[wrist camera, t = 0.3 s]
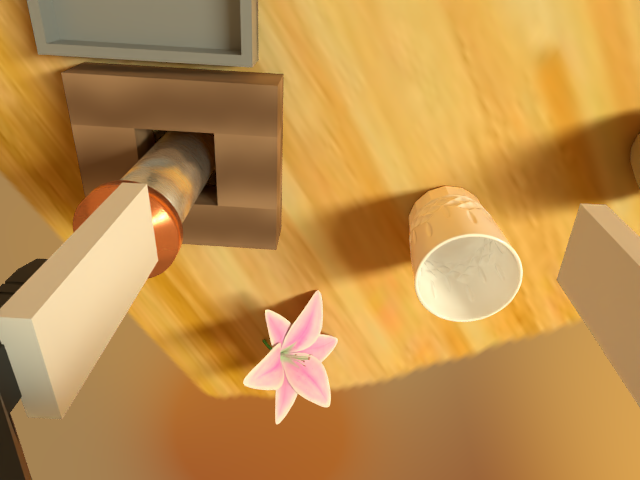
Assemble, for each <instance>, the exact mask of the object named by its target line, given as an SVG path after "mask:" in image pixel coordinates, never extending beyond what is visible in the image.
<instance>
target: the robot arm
mask: <svg viewBox="0 0 640 480" xmlns="http://www.w3.org/2000/svg"><path fill="white" fill-rule="evenodd" d="M157 262H158V256H157V249H156V242H155V235H154V228H153V221H152V214H151V207H150V200H149V194H148V187H147V184H141V183H121V184H120V185H119V187H118V188H117V189H116V190H115V191H114V192H113V193H112V194H111V195H110V196H109V197H108V198H107V199H106V200H105V201H104V202H103V203H102V204H101V205H100V206H99V207H98V208H97V209H96V210H95V211H94V212H93V213H92V214H91V215H90V216H89V217H88V218H87V220H86V221H85V222H84V223H83V224H82V225H81V226H80V227H79V228H78V229H77V230H76V231H75V232H74V233H73V234H72V235H71V236H70V237H69V238H68V239H67V240H66V241H65V242H64V243H63V244H62V245H61V246H60V247H59V248H58V249H57V251H55V253H54V254H53V255H52V256H51V257H50V258H49V259H36V260H34V261H32V262H30V263H28V264H26V265H25V266H23V267H21V268H19V269H18V270H17V271H16V272H15V273H13V274H12V276H10V277H9V278H8V279H7V280H6V281H5V284H2V285H1V286H0V480H32V478H31V475H30V473H29V469H28V466H27V463H26V460H25V457H24V454H23V450H22V447H21V444H20V441H19V438H18V435H17V432H16V429H15V426H14V423H13V420H12V418H11V415H10V412H11V411H12V409H13V408H14V407H15V405H16V404H17V403H18V401H19V400H20V398H21V400H22V403H23V406H24V409H25V411H26V414H27V417H32V418H49V419H63V417H64V415H65V414H66V412H67V410H68V409H69V407H70V405H71V404H72V402H73V400H74V399H75V397H76V395H77V394H78V392H79V391H80V389H81V387H82V385H83V384H84V382H85V381H86V379H87V377H88V376H89V374H90V372H91V371H92V369H93V367H94V366H95V364H96V362H97V361H98V359H99V357H100V356H101V354H102V352H103V351H104V349H105V347H106V346H107V344H108V343H109V341H110V339H111V338H112V336H113V334H114V333H115V331H116V329H117V328H118V326H119V324H120V323H121V321H122V319H123V318H124V316H125V315H126V313H127V311H128V310H129V308H130V306H131V305H132V303H133V301H134V300H135V298H136V296H137V295H138V293H139V291H140V290H141V288H142V287H143V285H144V283H145V282H146V280H147V278H148V277H149V275H150V273H151V272H152V270H153V268H154V267H155V265H156V263H157ZM557 281H558V283H559V284H560V286H561V287H562V289H563V291H564V292H565V294H566V295H567V297H568V298H569V300H570V301H571V303H572V304H573V306H574V307H575V309H576V310H577V312H578V314H579V315H580V317H581V318H582V320H583V321H584V323H585V324H586V326H587V327H588V329H589V330H590V332H591V333H592V335H593V336H594V338H595V340H596V341H597V342H598V344H599V346H600V347H601V349H602V350H603V352H604V353H605V355H606V356H607V358H608V359H609V361H610V363H611V364H612V366H613V367H614V369H615V370H616V372H617V373H618V375H619V376H620V378H621V379H622V381H623V382H624V384H625V385H626V387H627V388H628V390H629V391H630V393H631V394H632V396H633V398H634V399H635V401H636V402H637V404H638V405H639V407H640V237H639V236H638V235H637V234H636V233H635V232H634V231H633V230H632V229H631V228H630V227H629V226H628V225H627V224H626V223H625V222H624V221H623V220H622V219H620V218H619V217H618V216H617V215H616V214H615V213H614V212H613V211H612V210H611V209H610V208H609V207H608V206H607V205H600V204H580V206H579V210H578V213H577V216H576V219H575V222H574V226H573V229H572V232H571V235H570V239H569V242H568V245H567V248H566V252H565V255H564V258H563V261H562V264H561V268H560V271H559V274H558V277H557Z"/></svg>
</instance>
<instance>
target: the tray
mask: <svg viewBox="0 0 640 480" xmlns="http://www.w3.org/2000/svg"><path fill="white" fill-rule="evenodd" d="M27 4H28V9H29V13H30V18H31V23H32V28H33V32H34V37H35V42H36V46H37V51H38V54H41V55H57V56H74V57H90V58H107V59H123V60H140V61H156V62H173V63H189V64H206V65H223V66H239V67H253V66H254V65H255V63H256V62H257V61H258V0H27Z"/></svg>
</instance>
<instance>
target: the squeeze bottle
mask: <svg viewBox="0 0 640 480" xmlns="http://www.w3.org/2000/svg"><path fill="white" fill-rule="evenodd" d="M630 163H631V166H632V169H633V172H634V176H635V179H636V182H637V184H638V186H639V189H640V133H639V134H638V135H637V137H636V139H635V141H634V143H633V145H632V147H631V153H630Z"/></svg>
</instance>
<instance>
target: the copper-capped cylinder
mask: <svg viewBox="0 0 640 480" xmlns="http://www.w3.org/2000/svg"><path fill="white" fill-rule="evenodd" d="M215 167H216V162H215V143H214V137H213V136H212V135H211V134H210V133H200V132H184V131H167V132H166V133H165V134H164V135H163V136H162V137H161V138H160V139H159V141H158V142H157V143H156V144H155V145H154V146H153V147H152V148H151V149H150V150H149V151H148V152H147V153H146V154H145V155H144V156H143V157H142V158H141V159H140V160H139V161H138V162H137V163H136V164H135V165H134V166H133V167H132V168H131V169H130V170H129V171H128V172H127V173H126V174H125V175H124V176H123V177H122V178H121V179H120V180H117V181H111V182H107V183H104V184H102V185H100V186H98V187H97V188H95V189H94V190H93V191H92V192H91V193H90V194H89V195H88V196H87V197H85V198H84V199H83V200H82V202H81V203H80V204H79V205H78V207H77V209H76V211H75V214H74V218H73V231H74V232H75V231H76V230H77V229H78V228H79V227H80V226H81V225H82V224H83V223H84V222H85V221H86V220H87V218H88V217H89V216H90V215H91V214H92V213H93V212H94V211H95V210H96V209H97V208H98V207H99V206H100V205H101V204H102V203H103V202H104V201H105V200H106V199H107V198H108V197H109V196H110V195H111V194H112V193H113V192H114V191H115V190H116V189H117V188H118V187H119V185H120V184H121V183H141V184H147V187H148V194H149V200H150V207H151V214H152V221H153V228H154V235H155V242H156V249H157V256H158V262H157V263H156V265H155V267H154V268H153V270H152V272H151V273H150V275H149V277H148V278H152V277H154V276H157V275H159V274H161V273H162V272H164V271H165V270H166V269H167V268H168V267H169V266H170V265H171V264H172V262H173V261H174V259H175V257H176V255H177V254H178V252H179V250H180V248H181V245H182V242H183V226H182V223H183V221H184V220H185V218H186V216H187V215H188V213H189V211H190V210H191V208H192V206H193V205H194V203H195V201H196V199H197V198H198V196H199V194H200V193H201V191H202V189H203V188H204V186H205V184H206V183H207V181H208V179H209V178H210V176H211V174H212V172H213V171H214V169H215ZM148 278H147V279H148Z"/></svg>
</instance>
